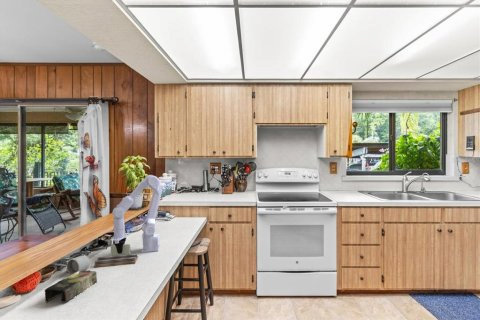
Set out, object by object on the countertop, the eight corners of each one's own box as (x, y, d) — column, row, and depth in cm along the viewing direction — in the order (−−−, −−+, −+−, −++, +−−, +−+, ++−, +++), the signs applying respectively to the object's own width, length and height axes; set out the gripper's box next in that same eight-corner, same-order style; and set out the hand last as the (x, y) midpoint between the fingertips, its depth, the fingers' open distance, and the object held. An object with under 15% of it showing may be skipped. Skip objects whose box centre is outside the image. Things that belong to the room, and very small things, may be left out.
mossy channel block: (80, 280, 137) (79, 267, 137) (99, 281, 135) (98, 268, 135) (44, 303, 117) (43, 288, 117) (65, 305, 116) (64, 290, 115)
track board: (138, 257, 164) (137, 252, 164) (134, 263, 155) (134, 258, 155) (99, 261, 161) (99, 256, 160) (94, 267, 152) (93, 262, 152)
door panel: (130, 254, 170) (129, 243, 170) (129, 255, 168) (129, 244, 168) (112, 255, 169) (111, 245, 168) (111, 256, 167) (110, 246, 166)
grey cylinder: (92, 268, 150) (91, 253, 150) (79, 275, 142) (78, 259, 142) (75, 267, 153) (74, 253, 153) (61, 274, 145) (60, 258, 145)
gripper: (115, 225, 174) (116, 248, 175) (108, 232, 160) (109, 257, 161) (127, 224, 175) (129, 247, 176) (122, 231, 161) (123, 256, 162)
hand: (120, 252), depth 168 cm, fingers open, 3 cm apart
